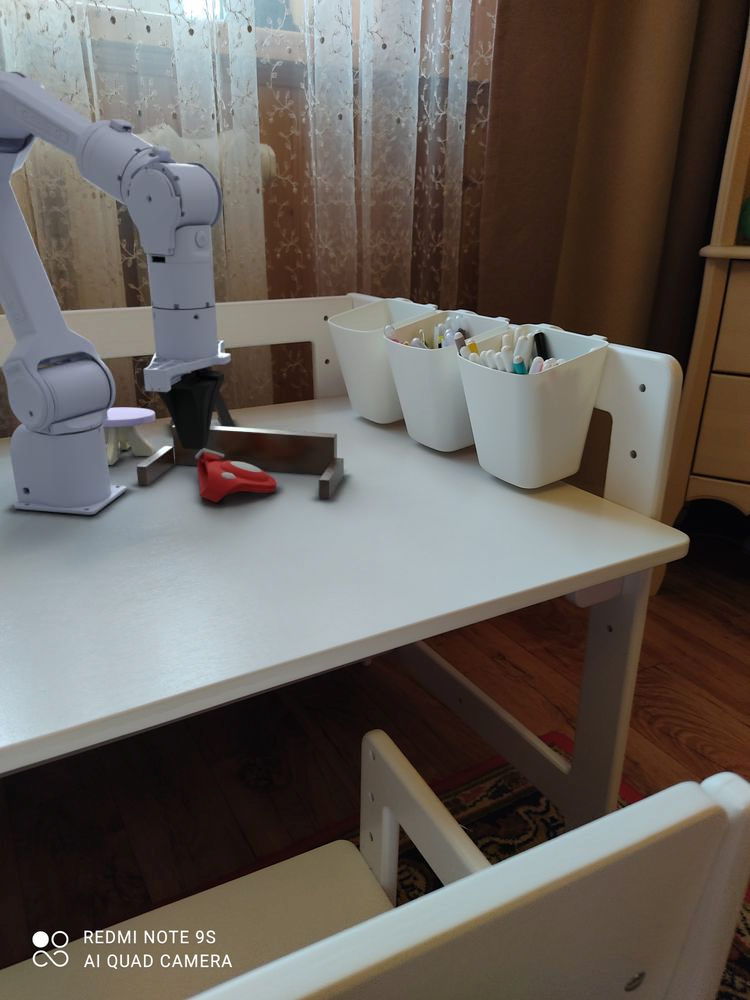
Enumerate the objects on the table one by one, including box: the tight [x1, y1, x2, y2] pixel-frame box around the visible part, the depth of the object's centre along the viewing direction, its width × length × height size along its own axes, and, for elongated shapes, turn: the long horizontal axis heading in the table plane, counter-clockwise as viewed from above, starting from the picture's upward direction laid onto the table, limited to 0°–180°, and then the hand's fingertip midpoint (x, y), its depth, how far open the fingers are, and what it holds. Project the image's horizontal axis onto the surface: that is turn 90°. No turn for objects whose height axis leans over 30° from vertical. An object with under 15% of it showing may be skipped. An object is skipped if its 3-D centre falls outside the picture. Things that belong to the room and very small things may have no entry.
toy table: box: [103, 406, 156, 466], centre depth 101 cm, size 10×9×6 cm
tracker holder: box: [195, 448, 278, 503], centre depth 90 cm, size 12×4×10 cm
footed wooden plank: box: [136, 426, 345, 501], centre depth 94 cm, size 23×10×5 cm, turn 80°
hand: (194, 447), depth 76 cm, fingers closed
